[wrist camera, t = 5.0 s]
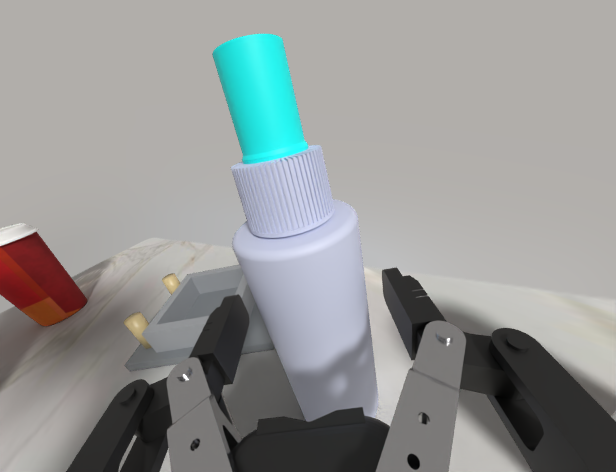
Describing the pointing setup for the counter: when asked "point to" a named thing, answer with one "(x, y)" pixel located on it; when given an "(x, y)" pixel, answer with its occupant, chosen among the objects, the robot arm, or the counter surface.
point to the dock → (192, 318)
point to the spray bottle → (296, 237)
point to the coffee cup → (36, 277)
